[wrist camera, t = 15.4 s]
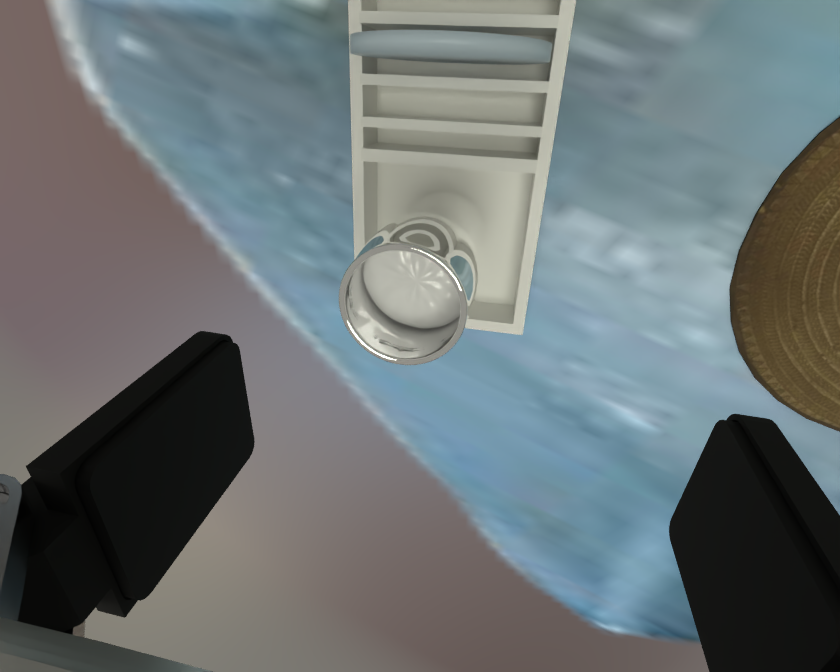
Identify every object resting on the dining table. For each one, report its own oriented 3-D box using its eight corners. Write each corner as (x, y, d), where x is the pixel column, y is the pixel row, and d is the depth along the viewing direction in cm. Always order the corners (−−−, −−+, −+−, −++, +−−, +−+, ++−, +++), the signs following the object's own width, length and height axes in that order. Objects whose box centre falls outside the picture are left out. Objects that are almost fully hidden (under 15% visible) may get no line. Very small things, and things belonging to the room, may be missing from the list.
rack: (369, -17, 31) (291, -72, 21) (573, -14, 29) (601, -74, 19) (371, 293, 41) (320, 361, 31) (522, 310, 39) (522, 390, 29)
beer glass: (428, 166, 35) (370, 211, 22) (508, 216, 35) (499, 290, 22) (386, 244, 38) (313, 325, 25) (459, 289, 38) (427, 391, 25)
